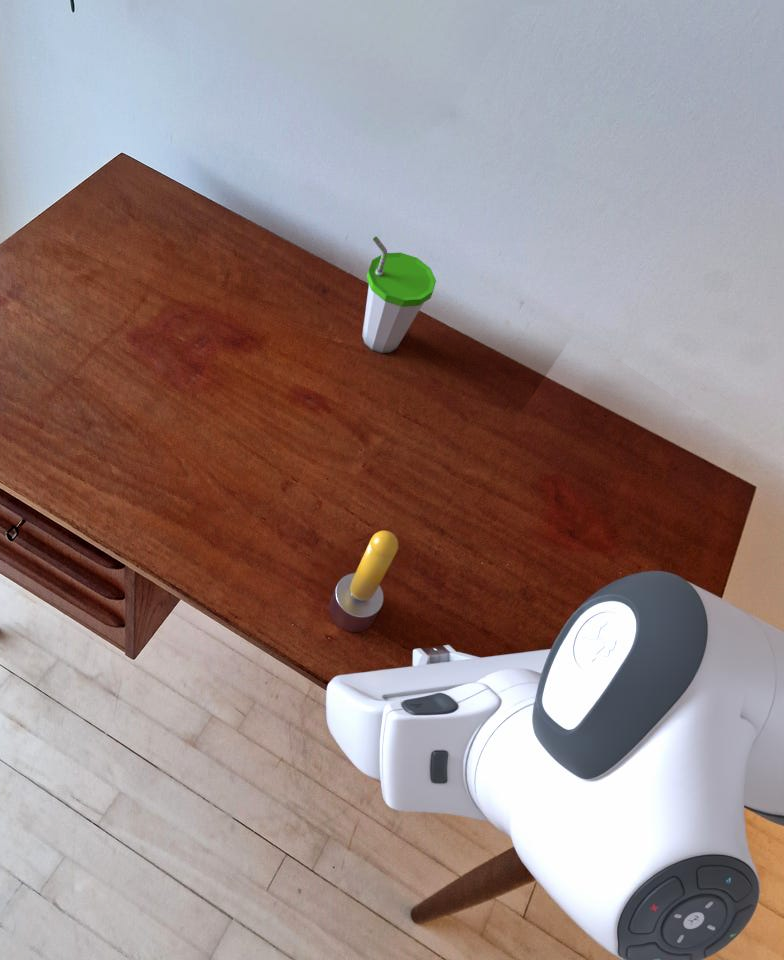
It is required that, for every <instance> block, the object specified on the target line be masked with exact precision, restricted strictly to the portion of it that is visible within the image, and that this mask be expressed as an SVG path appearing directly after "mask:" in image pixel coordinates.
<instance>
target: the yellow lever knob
mask: <svg viewBox="0 0 784 960" xmlns="http://www.w3.org/2000/svg"><path fill="white" fill-rule="evenodd" d="M398 550H399V540H398V538H397V536H396V535H395V534H394V533H393V532H392V531H389V530H379V531H377V532H376V533H374V534H373V535H372V537H371V538H370V540H369V543H368V545H367V546H366V549H365V551H364V553H363V555H362V557H361V560H360V563H359V565H358V567H357V569H356V571H355V572H352V573H349V574H347V575H345V576H343V577H342V578H341V579H340V580H339V581H338V583H337V585H336V587H335V588H334V591H333V594H332V596H331V597H330V601H329V604H328V613H329V616H330V618H331V620H332V622H333V623H334V624H335V625H336V627H338V628H340V629H342V630H343V631H345V632H350V633H359V632H363V631H365V630H367V629H368V628H370V627H371V625H372V624H373V623H374V621H375V619H376V617H377V615H378V614H379V612H380V610H381V608H382V607H383V604H384V597H385V596H384V592H383V589H382V587H381V583H382V581H383V579H384V577H385V575H386V574H387V572H388V569H389V568H390V566H391V564H392V562H393V560H394V559H395V556H396V554H397V553H398Z"/></svg>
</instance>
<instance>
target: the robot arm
mask: <svg viewBox="0 0 784 960" xmlns="http://www.w3.org/2000/svg"><path fill="white" fill-rule="evenodd" d="M325 696H326V697H325V713H326V714H325V715H326V723H327V727H328V731H329V732H330V734H331V735H332V737H333V739H334V740H335V742H336V744H337V745H338V747H339V748H340V749H341V751H342V752H343V753H344V755H345V756H346V757H347V758H348V759H349V761H350V762H351V763H352V764H353V765H354V767H356V769H357V770H359V771H360V772H361V773H362V774H363V775H366V776H367V777H369V778H371V779H374V780H377V781H380V787H381V794H382V798H383V801H384V802H385V804H386V805H387V806H388V807H389V808H390V809H391V810H393V811H397V812H408V813H432V814H444V815H452V816H459V817H463V818H467V819H468V818H469V819H473V820H477V821H478V820H479V821H485V822H490V823H491V824H492V825H493V827H494V828H495V829H496V830H498V831H499V832H501V833H502V834H503V835H505V836H507V837H509V838H511V842H512V845H513V847H514V850H515V852H516V854H517V856H518V858H519V859H520V861H521V863H522V864H523V865H524V866H525V868H526V869H527V870H528V872H529V873H530V874H531V876H532V877H533V878H534V879H535V880H536V882H537V883H538V884H539V885H540V886H541V888H542V889H543V890H544V891H545V892H546V893H547V895H549V897H550V898H551V899H552V900H553V901H554V902H555V903H556V905H558V907H559V908H560V909H561V910H562V911H563V912H564V913H565V915H567V917H569V918H570V919H571V920H572V921H573V922H574V923H575V924H576V925H577V926H578V927H579V928H580V929H581V930H582V931H583V932H584V933H586V935H588V936H589V937H590V938H591V940H594V941H595V942H596V943H597V944H598V945H599V946H601V947H602V948H603V949H605V950H606V951H608V953H610V954H611V955H613V956H615V957H617V958H619V959H620V960H704V959H707V958H709V957H712V956H714V955H715V954H717V953H718V952H720V951H722V949H724V948H726V947H727V946H728V945H729V944H731V942H733V941H734V940H735V939H736V938H737V937H738V936H739V935H740V934H741V933H742V931H743V930H744V929H745V928H746V927H747V926H748V924H749V923H750V921H751V920H752V918H753V916H754V914H755V913H756V909H757V907H758V903H759V900H760V896H761V895H760V894H761V883H760V879H759V878H760V877H759V874H758V872H757V870H756V866H755V864H754V861H753V858H752V856H751V855H752V854H751V852H750V849H749V844H748V837H747V830H746V815H745V814H746V813H745V809H746V810H747V811H750V812H752V813H754V814H755V815H757V816H759V817H760V818H763V819H764V820H766V821H769V822H771V823H774V824H776V825H779V826H782V827H784V630H781V629H779V628H778V627H776V626H773V625H772V624H770V623H769V622H767V621H765V620H762V619H760V618H758V617H757V616H755V615H753V614H751V613H749V612H748V611H745V610H744V609H742V608H740V607H738V606H736V605H735V604H733V603H731V602H729V601H727V600H725V599H723V598H722V597H719V596H718V595H716V594H714V593H712V592H710V591H708V590H706V589H704V588H702V587H699V586H697V585H696V584H694V583H692V582H690V581H688V580H686V579H685V578H684V577H681V576H680V575H677V574H674V573H672V572H668V571H663V570H647V571H641V572H636V573H633V574H629V575H626V576H624V577H621V578H618V579H616V580H614V581H612V582H610V583H608V584H606V585H605V586H603V587H601V588H600V589H598V590H597V591H596V592H595V593H593V594H591V595H590V596H589V597H588V598H587V599H586V600H585V601H584V602H582V604H580V606H579V607H578V608H577V609H576V610H575V611H573V613H572V614H571V615H570V617H569V618H568V620H566V622H565V624H564V625H563V627H562V628H561V630H560V632H559V633H558V634H557V637H556V638H555V640H554V642H553V644H552V646H551V647H550V649H549V648H547V649H540V650H539V649H538V650H532V651H524V652H515V653H508V654H499V655H492V656H484V657H480V656H476V655H472V654H468V653H465V652H461V651H456V650H455V649H454V648H453V647H452V646H451V645H450V644H445V645H437V646H430V647H421V648H419V647H418V648H414V649H413V650H412V665H411V666H405V667H403V666H402V667H396V668H387V669H386V668H385V669H377V670H370V671H362V672H354V673H347V674H339V675H336V676H335V675H334V677H333V678H332V679H331V680H330V681H329V682H328V684H327V686H326V694H325Z"/></svg>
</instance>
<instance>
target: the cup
mask: <svg viewBox="0 0 784 960" xmlns="http://www.w3.org/2000/svg"><path fill="white" fill-rule="evenodd" d="M372 241H373V242H374V244H375V245H376V246H377V247H378V248H379V250H380V251H381V254H380V255H378V256H377V257H375V258H373V259H372V260H371V263H370V265H369V268H368V270H367V273H366V280H367V283H368V289H367V297H366V305H365V312H364V313H365V314H364V320H363V327H362V336H361V337H362V340H363V343H364V345H365V346H367V347H368V349H370V350H371V351H373V352H377V353H380V354H386V353H387V354H389V353H392V352H393V351H395V350H396V349H398V347H399V345H400V344H401V342H402V340H403V339H404V337H405V335H406V333H407V332H408V331H409V329H410V327H411V325H412V324H413V322H414V321H415V319H416V317H417V315H418V313H419V312H420V310H421V309H422V307H423V306H424V303H425V302H427V301H429V300H430V299H431V298H432V296H433V293H434V290H435V286H436V283H437V280H436V277H435V275H434V273H433V270H432V269H431V268H430V267H429V266H428V265H427V264H426V263H424V262H423V261H422V260H421V259H420V258H418V257H416V256H413V255H409V254H407V253H403V252H388V249H387V247H386V246H385V245H384V243H382V241H381V240H380V238H379V237H378V236H374V237H373V238H372Z"/></svg>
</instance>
